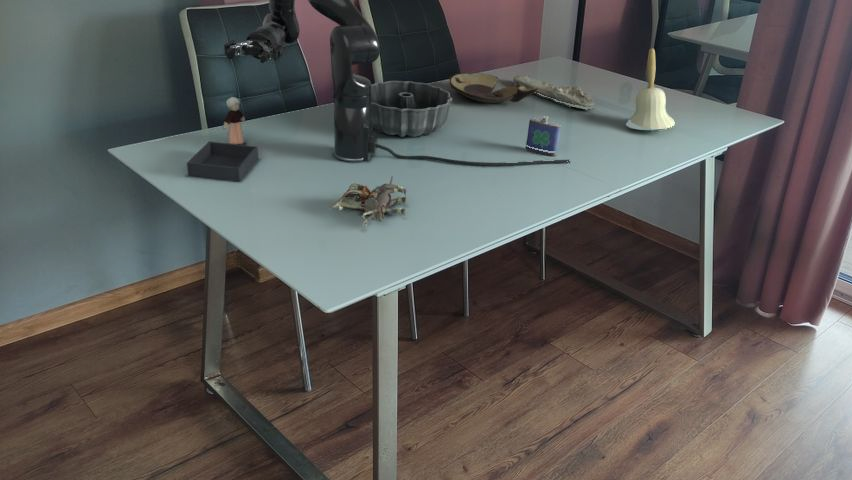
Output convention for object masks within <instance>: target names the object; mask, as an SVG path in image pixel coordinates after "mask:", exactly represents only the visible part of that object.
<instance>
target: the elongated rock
mask: <svg viewBox="0 0 852 480" xmlns="http://www.w3.org/2000/svg"><path fill="white" fill-rule="evenodd" d="M515 84H516V86H517V87H518V88H519V87H520V86H524V87H525V88H527V89H532V88H538V90H537V91H536V93H533V94H534V95H536V96H538V97H539V98H543V99H547V100H549V101H553V102H554V103H556V104H559V105H563V106H565V107H567V108H569V109H572V108H571V107H572V106H569V105H566V104H563V103H560V102H556V101H554V100H552V99H549V98H547V97H550V98H553V99H556V100H558V101H562V102H566V103H570V104H573V105H579V106H583V107H591V106H593V105H595V106H596V103H595V101H594V99H593V98H592V96H591V95H589V94H588V93H586V92H584V91H583V90H582V89H581V87H580V86H556V85H554V84H551V83H549V82H545V81H542V80H539V79H536V78H533V77H531V76H529V75H528V76H527V75H516V76H514V77H513V79H512V85H515ZM537 93H540V94H542V95H544V96H547V97H543V96H541V95H539V94H537Z"/></svg>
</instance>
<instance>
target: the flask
mask: <svg viewBox="0 0 852 480" xmlns="http://www.w3.org/2000/svg"><path fill="white" fill-rule="evenodd" d="M549 119H550V117H549V115H543V116H542V119H541V118H538V117H535V118H534V117H533V118H529V122H528V130H527V136H526V143H525V151H527V152H531V153H534V154H540V155H543V156H548V157H557V155H558V150H559V149H558V148H559V143H560V142H559V141H560V135H561V129H562V126H561V123H560V124H559V123H555V122H550V121H548V120H549ZM526 145H528V146H530V147H534V148H538V149H543V150H548V151H557V153H548V152H543V151H539V150H535V149H532V148H529V147H527V146H526Z"/></svg>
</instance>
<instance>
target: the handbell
mask: <svg viewBox="0 0 852 480" xmlns="http://www.w3.org/2000/svg"><path fill="white" fill-rule="evenodd" d="M656 61H657V60H656V51H655V48H653V47H651V48H649V50H648V55H647V64H646V65H647V66H646V69H647V70H646V71H647V73H646V74H647V82H648V86H647V87H644V88H642V89H640V90H639V91H638V93H637V94H636V97H635V111H634V113H633V114H632V115H631V117H629V119H630V120H631V122H632V123H634V124H636V125H638V126H641V127H645V128H651V129H665V130H668V129H667V128H669V129H671V128H673V127H674V126H675V123H676V122H675V120H674V119H673V118H672V117H671V116H670V115H669V113H667V110H666V103H667V102H666V101H667V100H666V93H665V91H664V90H663V89H661V88H659V87H656V86H654V85H655V78H656V72H657V71H656V68H657V67H656ZM672 126H673V127H672ZM670 127H671V128H670Z"/></svg>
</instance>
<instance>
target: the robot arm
mask: <svg viewBox="0 0 852 480" xmlns="http://www.w3.org/2000/svg"><path fill="white" fill-rule="evenodd" d="M307 1H308V3H309V4H310V5H311V7H312V8H313V9H314V10H315V11H316V12H318V13H319V14H320V15H322V16H325V17H326V18H327V19H329V20H330V21H332V22H334V23H335V24H337V26H334V27H333V28H332V30H331V33H330V36H329V50H330V51H329V52H330V63H331V66H330V67H331V78H332V84H333V121H334V122H333V124H334V125H333V135H334V136H333V139H334V141H333V143H334V147H333V149H334V150H333V156H334V157H335V158H336V159H338V160H340V161H344V162H352V163H358V162H368V161H369V160H370V158H371V157H372V154H376V151H377V149H380V150H384V151H386V152H388V153H390V154H391V156H393V157H395V158H397V159H401V160H402V159H403V160H430V161H437V162H443V163H444V162H445V163H448V164H449V163H450V164H458V165H468V166H480V167H481V166H483V167H507V166H510V167H511V166H526V165H543V164H568V162H569V164H570V163H571V160H570V159H553V160H554V161H543V160H532V161H533V162H527V161H517V162H518V163H506V162H487V161H486V162H483V161H482V162H481V161H469V160H468V161H467V160H457V159H449V158H444V157H439V156H438V157H437V156H430V155H402V154H399V153H396V152H395V151H393V149H391V148H390V147H386V146H385V145H381V144H378V140H379V139H378V136H373V127H372V119H371V84H372V83H371V80H370V79H368V78H367V77H365V76H362V75H359V74H356V73H354V72H353V66H357V65H367V64H371V63H374V62H375V61H377V60H378V58H379V57H380V54H381V53H380V52H381V46H380V40H379V37H378V35H377V33H376V32H375V30H374V28H373V26H371V24H370V23H369V22H368V20H367V19H366V18H365V17H364V16H363V14H362V13H361V12H360V10H359V9H358V8H357V7H356V6H355V4H354V3H353V1H352V0H307ZM295 3H296V0H268V9H269V11H270V13H267V14H266V15H265V16H264V17H263V21H262V25H261V26H259V27H257V28H256V29H255V30H254V31H252V32H250V33H249V34H248V35H247V37H246V39H245V41H243V42H237V40H236V39H232V40H229V41H228V42H226V43H224V44H223V49H224V55H225V57H226V58H227V60H232V59H233V58H235V57H237V56H238V57H241V58H243V57H253V58H255V59H256V60H259V62H260V64H264V63H266V62H268V61H272V59H273V60H274V61H279V60H280V59H281V57H283V45H284V43H286V44H289V45H291V44H294V43H295V42H297V40H298V39H299V37H300V24H299V20H298V16H297V14H296V10H295V9H296V8H295ZM569 160H570V161H569ZM567 161H568V162H567ZM564 162H565V163H564Z"/></svg>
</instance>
